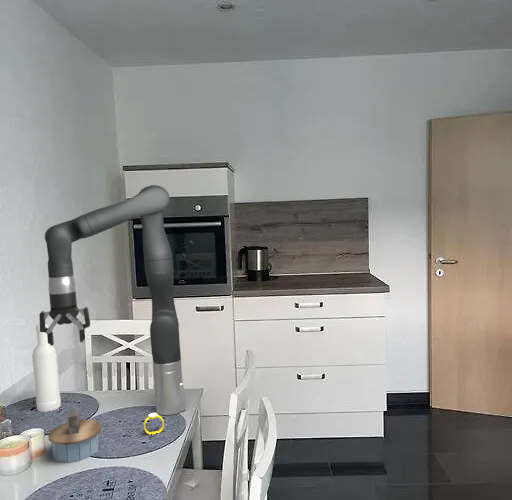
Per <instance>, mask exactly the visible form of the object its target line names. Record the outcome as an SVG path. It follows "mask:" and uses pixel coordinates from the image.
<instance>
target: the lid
mask: <svg viewBox="0 0 512 500" xmlns="http://www.w3.org/2000/svg"><path fill="white" fill-rule="evenodd" d="M80 417H81V416H80V409H79V408H77V409H70V410H69V412H68V416H67V422H64V423H61V424H60V425H57V426H55V427H54V428H52V429H51V430H50V431H49V433H48V435H47V436H48V437H47V438H48V441H49V442H50V443H51V444H52V443H54V444H61V445H66V444H74V443H79V442H82V441H85V440H88V439H90V438H92V437H94V436H95V435H97V434H98V435H99V433H100V432H101V430H102V424H101V423H100V422H99V421H97V420H94V419H80Z"/></svg>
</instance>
